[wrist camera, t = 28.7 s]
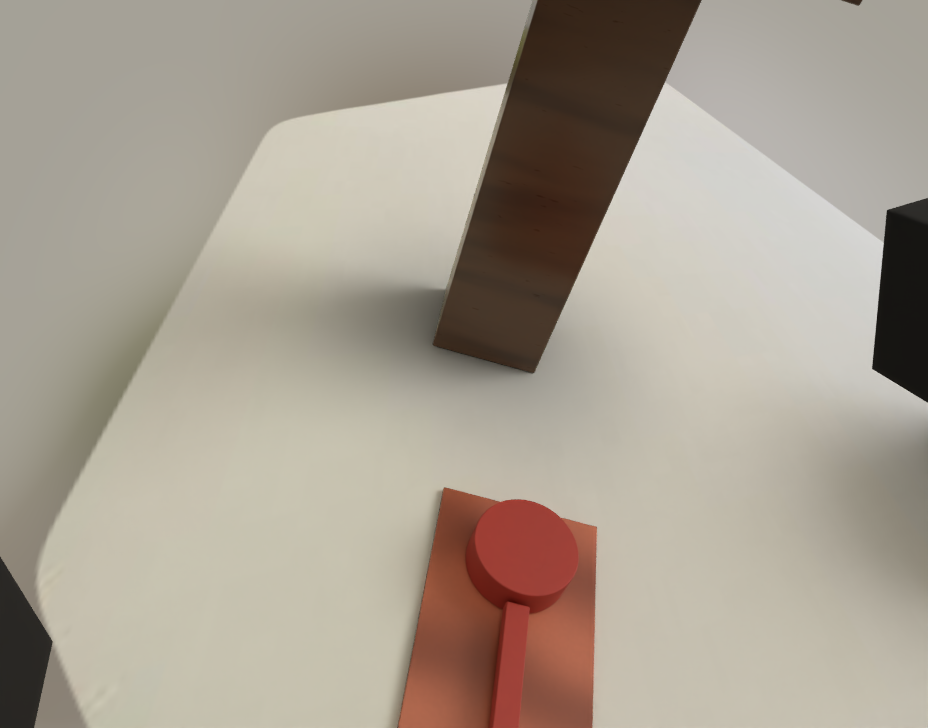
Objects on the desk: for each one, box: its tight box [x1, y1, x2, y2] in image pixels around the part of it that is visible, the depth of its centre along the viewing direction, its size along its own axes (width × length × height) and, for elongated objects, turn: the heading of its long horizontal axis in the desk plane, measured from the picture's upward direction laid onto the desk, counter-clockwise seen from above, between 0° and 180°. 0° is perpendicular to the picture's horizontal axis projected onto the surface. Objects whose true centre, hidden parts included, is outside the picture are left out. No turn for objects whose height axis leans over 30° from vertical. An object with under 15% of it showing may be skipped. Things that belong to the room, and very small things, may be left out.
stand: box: [398, 0, 862, 728], centre depth 34 cm, size 38×16×30 cm, turn 172°
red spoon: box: [466, 499, 579, 728], centre depth 36 cm, size 22×6×2 cm, turn 172°
